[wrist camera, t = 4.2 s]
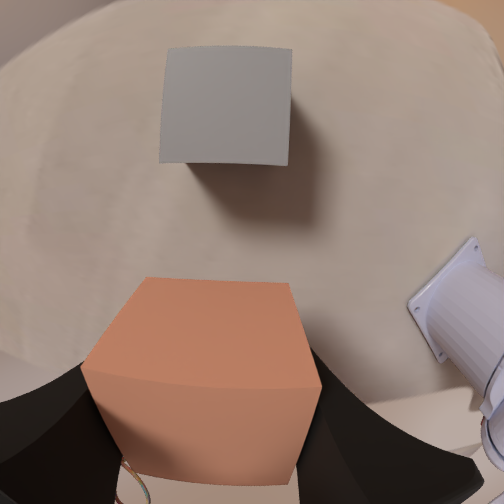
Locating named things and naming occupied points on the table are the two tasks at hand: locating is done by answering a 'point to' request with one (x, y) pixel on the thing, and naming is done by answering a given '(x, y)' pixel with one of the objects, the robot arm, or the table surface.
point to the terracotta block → (207, 381)
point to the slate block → (226, 105)
